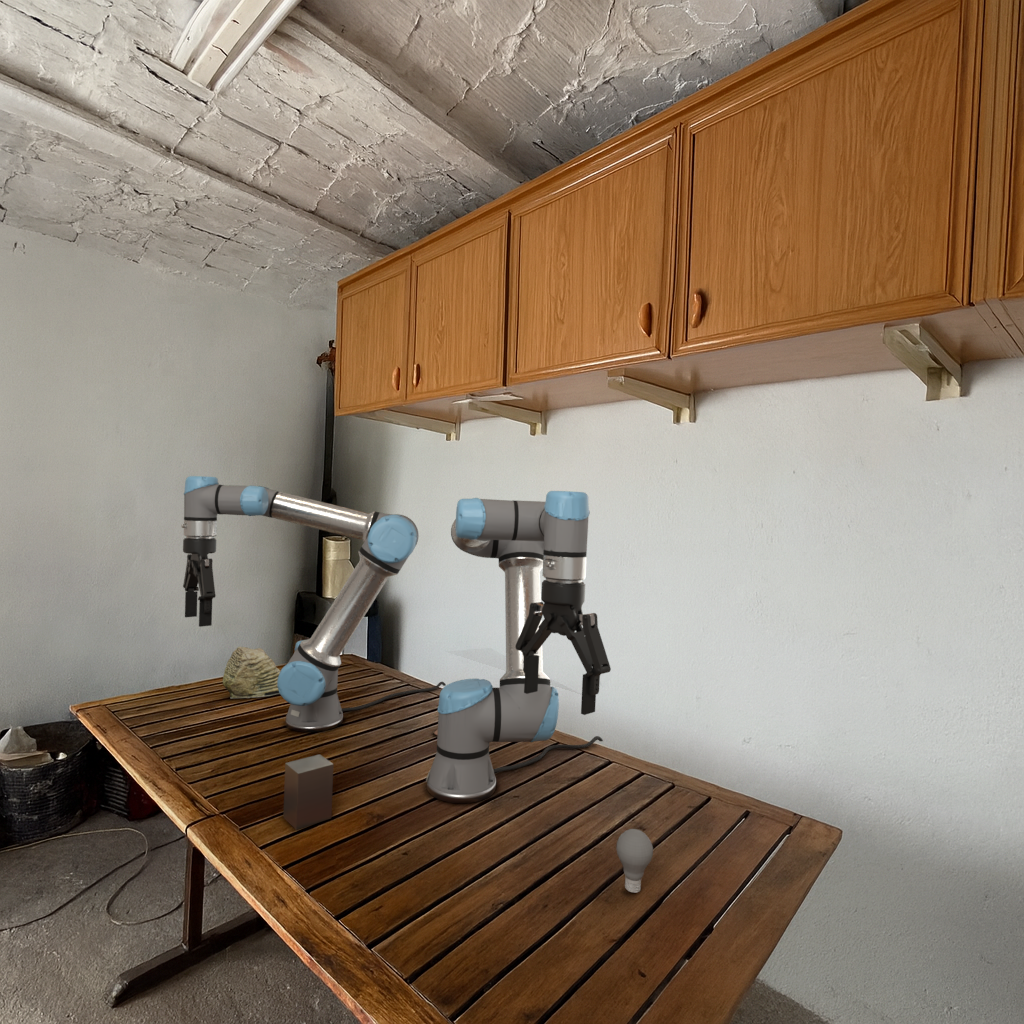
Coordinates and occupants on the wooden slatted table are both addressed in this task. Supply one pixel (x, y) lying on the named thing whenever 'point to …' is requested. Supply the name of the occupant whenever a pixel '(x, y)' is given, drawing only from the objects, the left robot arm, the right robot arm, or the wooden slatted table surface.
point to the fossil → (250, 674)
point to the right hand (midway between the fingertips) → (558, 702)
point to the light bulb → (634, 857)
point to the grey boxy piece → (308, 791)
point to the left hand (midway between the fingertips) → (197, 621)
